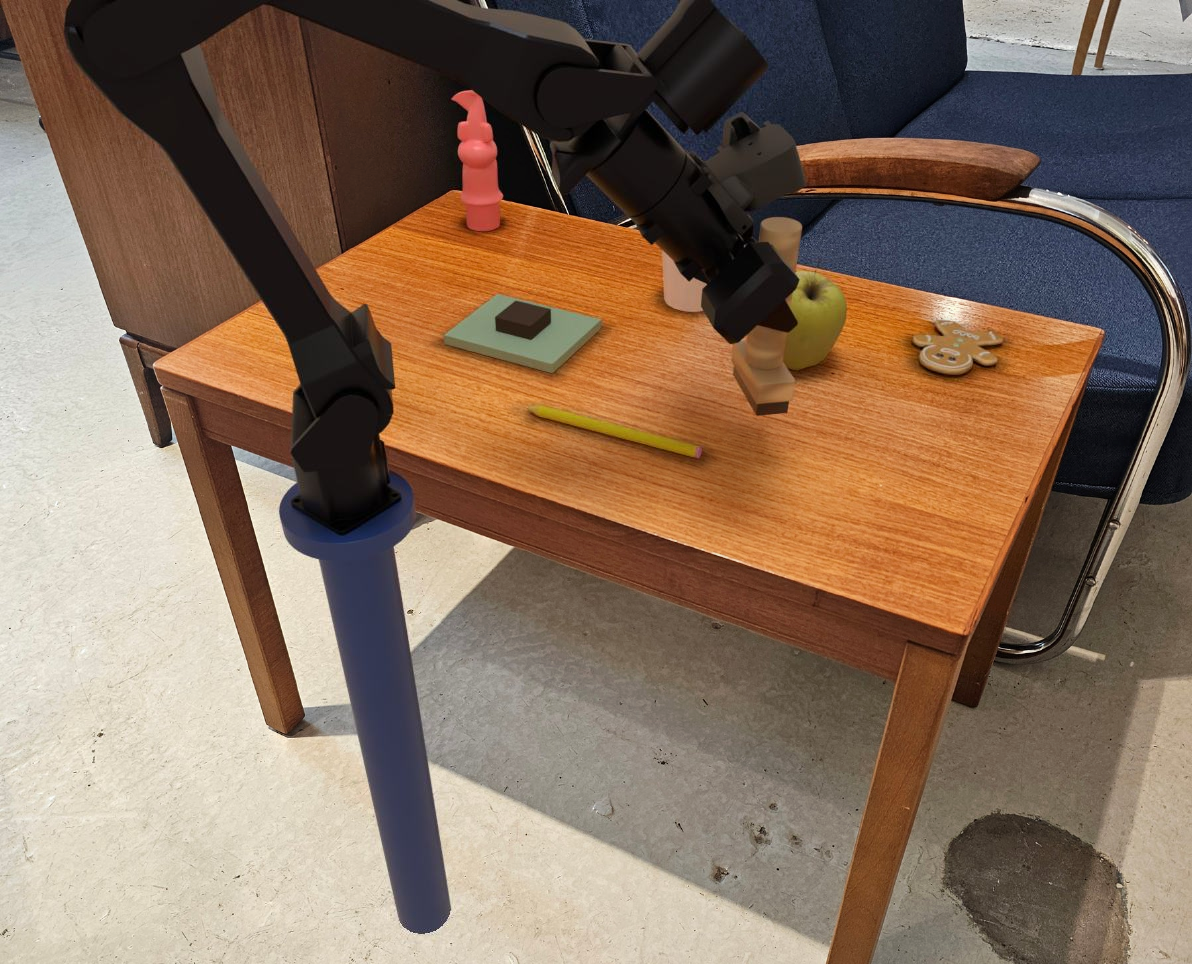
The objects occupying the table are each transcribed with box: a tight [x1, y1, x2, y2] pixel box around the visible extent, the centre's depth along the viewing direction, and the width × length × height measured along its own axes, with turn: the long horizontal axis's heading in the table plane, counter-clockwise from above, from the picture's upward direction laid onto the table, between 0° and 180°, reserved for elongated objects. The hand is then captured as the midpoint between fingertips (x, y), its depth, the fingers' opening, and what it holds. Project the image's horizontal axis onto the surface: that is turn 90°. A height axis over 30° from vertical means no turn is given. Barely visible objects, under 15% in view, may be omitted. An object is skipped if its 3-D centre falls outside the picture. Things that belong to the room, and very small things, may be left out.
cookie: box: [912, 319, 1005, 376], centre depth 101 cm, size 8×1×10 cm
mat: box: [443, 293, 603, 374], centre depth 103 cm, size 10×12×1 cm
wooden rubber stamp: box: [731, 216, 803, 417], centre depth 81 cm, size 3×7×14 cm, turn 11°
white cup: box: [661, 249, 707, 313], centre depth 107 cm, size 7×7×7 cm
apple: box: [783, 260, 848, 371], centre depth 97 cm, size 8×8×10 cm
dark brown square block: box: [495, 301, 551, 340], centre depth 102 cm, size 4×4×2 cm
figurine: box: [451, 89, 504, 232], centre depth 118 cm, size 5×5×15 cm
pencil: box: [525, 404, 703, 459], centre depth 90 cm, size 16×1×1 cm, turn 65°
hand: (786, 317), depth 82 cm, fingers closed on wooden rubber stamp, 3 cm apart
